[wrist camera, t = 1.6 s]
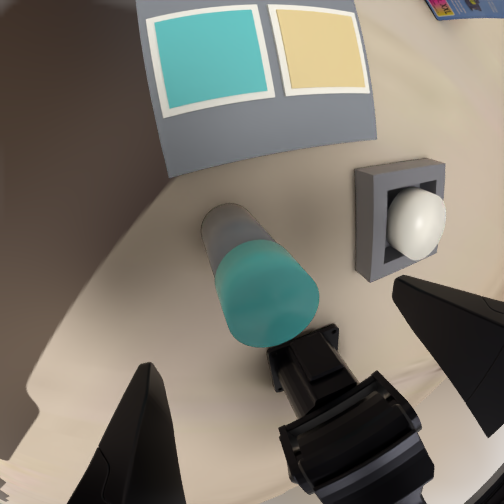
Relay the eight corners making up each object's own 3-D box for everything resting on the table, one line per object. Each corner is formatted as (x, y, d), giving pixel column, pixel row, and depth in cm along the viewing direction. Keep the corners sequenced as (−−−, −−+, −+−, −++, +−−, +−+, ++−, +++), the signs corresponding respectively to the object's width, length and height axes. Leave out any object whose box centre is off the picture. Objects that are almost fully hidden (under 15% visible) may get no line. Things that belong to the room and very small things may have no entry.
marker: (259, 247, 17) (319, 329, 11) (207, 262, 17) (238, 358, 10) (250, 195, 16) (317, 255, 9) (193, 210, 15) (216, 287, 8)
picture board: (369, 138, 16) (380, 139, 15) (169, 175, 14) (169, 179, 13) (340, -18, 10) (349, -23, 10) (134, -13, 8) (133, -21, 7)
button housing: (421, 243, 22) (436, 252, 20) (355, 270, 21) (369, 282, 19) (427, 158, 18) (445, 163, 17) (354, 169, 17) (373, 175, 15)
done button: (424, 239, 20) (441, 249, 18) (382, 256, 19) (399, 269, 17) (429, 182, 17) (448, 189, 16) (385, 192, 17) (406, 200, 15)
